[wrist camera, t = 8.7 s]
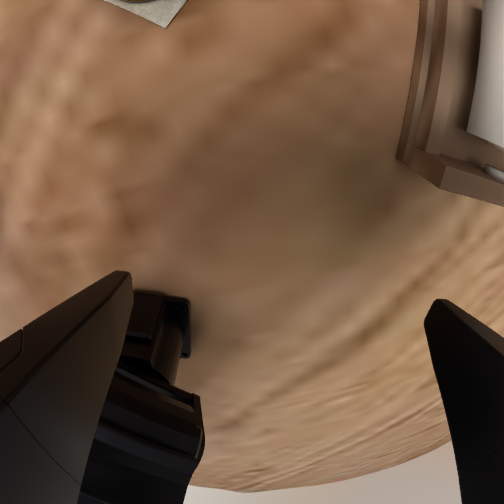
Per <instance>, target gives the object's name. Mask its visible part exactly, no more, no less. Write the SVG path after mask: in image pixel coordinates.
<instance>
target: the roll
mask: <svg viewBox="0 0 504 504" xmlns="http://www.w3.org/2000/svg"><path fill="white" fill-rule="evenodd" d="M466 132H468V133H471V134H473V135H475V136H478V137H480V138H483V139H485V140H487V141H488V142H487V144H489V145H491V146H493V147H495V148H497V149H499V150H501V151H504V0H483V2H482V25H481V40H480V51H479V60H478V68H477V76H476V83H475V89H474V95H473V101H472V106H471V111H470V116H469V121H468V126H467V131H466Z"/></svg>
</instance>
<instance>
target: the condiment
mask: <svg viewBox="0 0 504 504" xmlns="http://www.w3.org/2000/svg"><path fill="white" fill-rule="evenodd" d="M105 1H107V2H110V3H112V4H114V5H117V6H119V7H121V8H124V9H126V10H128V11H130V12H132V13H135V14H137V15H139V16H141V17H143V18H145V19H147V20H149V21H151V22H153V23H155V24H157V25H159V26H161V27H163V28H166V27H167V25H168V24H169V23H170V21H171V20H172V19H173V17H174V16H175V15H176V13H177V12H178V11H179V10H180V8H181V7H182V6H183V5H184V3H185V2H186V1H187V0H105Z"/></svg>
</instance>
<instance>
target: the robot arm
mask: <svg viewBox="0 0 504 504" xmlns="http://www.w3.org/2000/svg"><path fill="white" fill-rule="evenodd" d="M181 305H184V306H181ZM424 328H425V333H426V337H427V341H428V346H429V350H430V355H431V360H432V364H433V368H434V372H435V375H436V379H437V382H438V386H439V389H440V393H441V397H442V401H443V405H444V409H445V413H446V417H447V421H448V425H449V430H450V434H451V439H452V444H453V448H454V454H455V459H456V465H457V471H458V477H459V485H460V493H461V500H462V504H504V338H503V337H502V336H500V335H499V334H497V333H496V332H495V331H493V330H492V329H490V328H489V327H487V326H486V325H485V324H483V323H482V322H480V321H479V320H477V319H476V318H474V317H473V316H471V315H470V314H468V313H467V312H465V311H464V310H462V309H461V308H459V307H458V306H456V305H455V304H453V303H452V302H450V301H449V300H447V299H436V300H435V301H434V302H433V304H432V306H431V308H430V310H429V311H428V313H427V315H426V317H425V320H424ZM190 355H191V334H190V303H189V302H188V301H187V300H186V299H181V298H172V297H164V296H156V295H148V294H140V293H133V286H132V277H131V274H130V273H129V272H126V271H119V270H116V271H114V272H112V273H110V274H109V275H107V276H105V277H104V278H102V279H100V280H98V281H97V282H95V283H93V284H92V285H90V286H88V287H87V288H85V289H83V290H82V291H80V292H79V293H77V294H75V295H74V296H72V297H70V298H69V299H67V300H65V301H64V302H62V303H61V304H59V305H57V306H56V307H54V308H53V309H51V310H49V311H48V312H46V313H45V314H43V315H41V316H40V317H38V318H37V319H35V320H34V321H32V322H30V323H29V324H27V325H26V326H24V327H23V330H22V329H20V330H18V331H17V332H15V333H14V334H12V335H10V336H9V337H7V338H6V339H4V340H3V341H1V342H0V504H183V502H184V498H185V494H186V490H187V486H188V484H189V482H190V479H191V477H192V474H193V473H194V471H195V469H196V468H197V466H198V464H199V462H200V460H201V458H202V455H203V452H204V447H205V434H204V426H203V419H202V411H201V403H200V396H198V395H196V394H193V393H192V394H191V393H188V392H186V391H184V390H181V389H179V388H177V387H175V386H174V384H175V379H176V374H177V369H178V364H179V360H180V358H189V357H190Z"/></svg>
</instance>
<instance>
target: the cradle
mask: <svg viewBox="0 0 504 504" xmlns="http://www.w3.org/2000/svg"><path fill="white" fill-rule="evenodd" d="M482 2H483V0H421V1H420V14H419V25H418V35H417V44H416V52H415V59H414V66H413V73H412V80H411V86H410V92H409V97H408V103H407V108H406V113H405V119H404V124H403V128H402V133H401V138H400V142H399V147H398V151H397V155H396V158H397V159H398V160H400V161H401V162H403V163H404V164H406V165H407V166H409V167H410V168H412V169H413V170H414V171H416V172H417V173H419V174H420V175H421V176H423V177H424V178H426V179H427V180H428V181H430V182H431V183H432V184H434V185H435V186H436V187H438V188H439V189H442V190H446V191H450V192H454V193H457V194H461V195H465V196H468V197H472V198H476V199H479V200H483V201H486V202H489V203H493V204H496V205H499V206H503V207H504V151H501V150H499V149H497V148H495V147H493V146H491V145H489V144H487V142H488V141H487V140H485V139H483V138H480V137H478V136H475V135H473V134H471V133H468V132H466V131H467V126H468V121H469V116H470V111H471V106H472V101H473V95H474V89H475V83H476V76H477V68H478V60H479V51H480V40H481V25H482Z"/></svg>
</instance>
